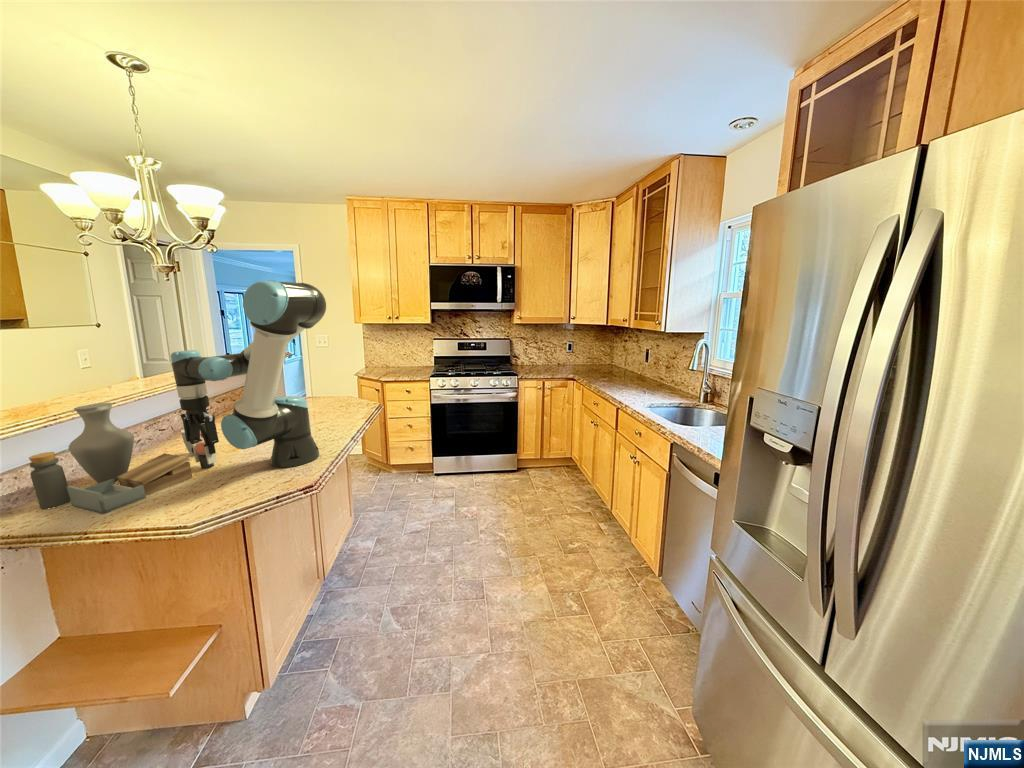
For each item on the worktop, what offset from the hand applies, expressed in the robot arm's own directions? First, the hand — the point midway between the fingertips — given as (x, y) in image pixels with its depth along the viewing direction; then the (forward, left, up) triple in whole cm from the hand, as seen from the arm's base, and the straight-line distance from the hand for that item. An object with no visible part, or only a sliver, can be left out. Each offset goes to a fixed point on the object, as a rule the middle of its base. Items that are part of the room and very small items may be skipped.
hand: (206, 461), depth 132 cm
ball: (0, 0, +3) cm, 3 cm away
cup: (+17, -8, -2) cm, 19 cm away
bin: (+1, +26, -2) cm, 26 cm away
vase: (+21, +16, -2) cm, 26 cm away
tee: (0, 0, -2) cm, 2 cm away
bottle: (+15, +31, -2) cm, 35 cm away
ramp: (+1, +14, -2) cm, 14 cm away
